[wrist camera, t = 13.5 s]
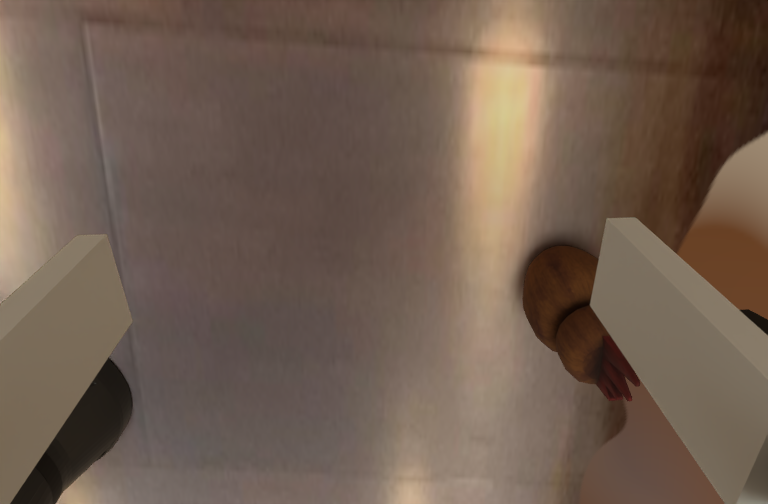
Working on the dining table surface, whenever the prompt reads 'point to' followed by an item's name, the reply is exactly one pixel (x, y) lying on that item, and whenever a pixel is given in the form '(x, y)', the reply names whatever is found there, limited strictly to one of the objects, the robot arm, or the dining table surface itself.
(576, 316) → the wooden figurine
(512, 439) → the dining table surface
